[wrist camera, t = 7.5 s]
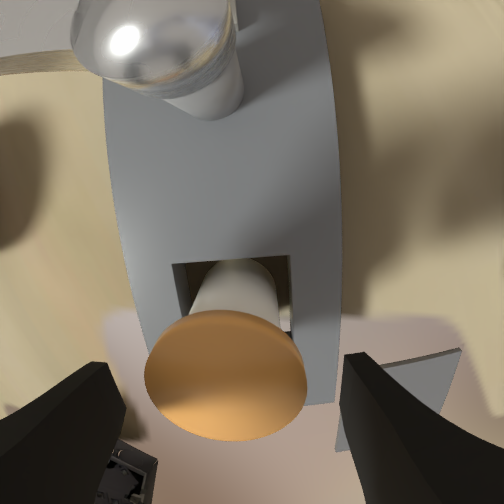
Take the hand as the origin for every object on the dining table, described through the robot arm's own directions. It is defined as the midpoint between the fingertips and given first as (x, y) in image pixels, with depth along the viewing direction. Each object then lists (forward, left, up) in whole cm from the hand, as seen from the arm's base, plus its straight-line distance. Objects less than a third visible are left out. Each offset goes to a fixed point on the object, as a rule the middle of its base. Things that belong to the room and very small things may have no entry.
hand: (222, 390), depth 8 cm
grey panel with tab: (0, -4, -7) cm, 8 cm away
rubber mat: (-10, +9, -7) cm, 15 cm away
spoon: (+4, -11, +1) cm, 12 cm away
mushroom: (0, 0, -7) cm, 7 cm away
